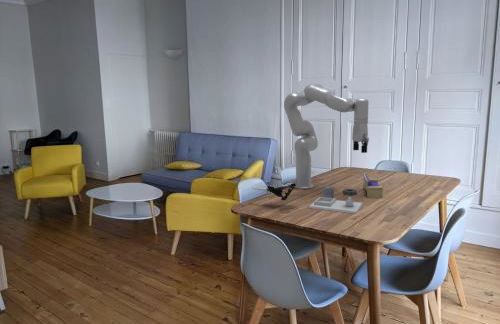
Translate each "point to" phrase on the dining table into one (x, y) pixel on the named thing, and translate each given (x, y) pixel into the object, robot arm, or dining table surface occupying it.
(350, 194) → the wheel
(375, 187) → the toy sofa
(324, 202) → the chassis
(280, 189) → the rocket toy
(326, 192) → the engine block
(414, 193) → the dining table surface
